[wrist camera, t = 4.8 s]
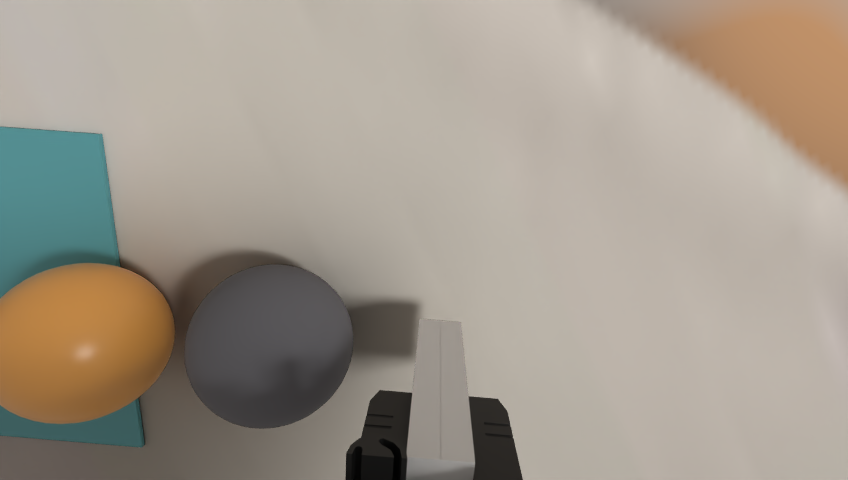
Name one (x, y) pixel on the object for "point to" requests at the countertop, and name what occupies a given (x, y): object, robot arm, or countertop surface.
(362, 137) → the countertop surface
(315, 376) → the gray ball
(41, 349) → the object ball
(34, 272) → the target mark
